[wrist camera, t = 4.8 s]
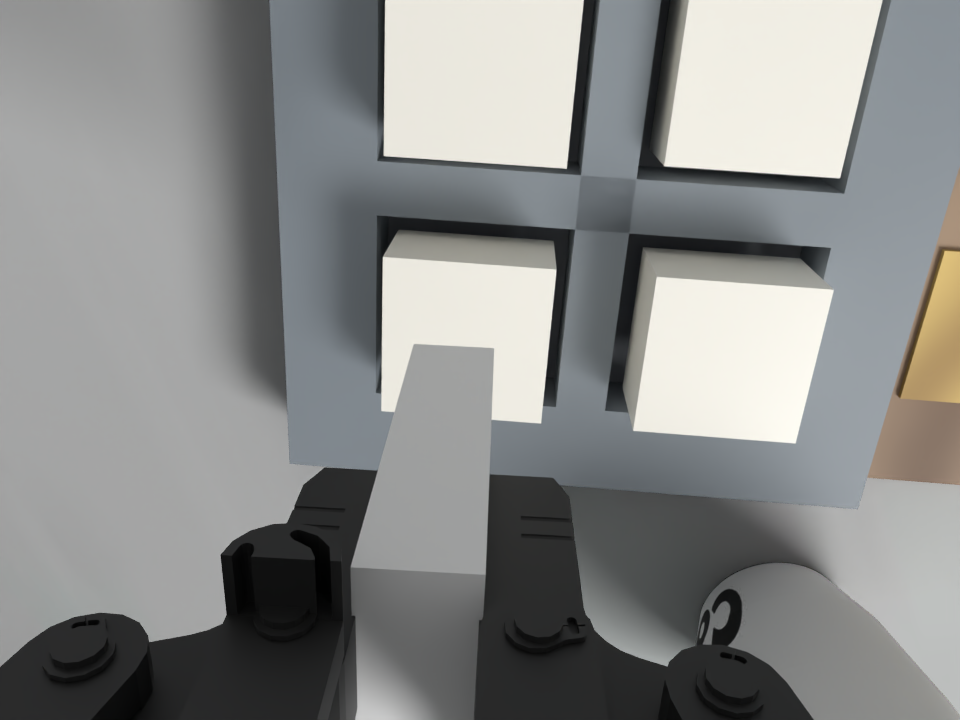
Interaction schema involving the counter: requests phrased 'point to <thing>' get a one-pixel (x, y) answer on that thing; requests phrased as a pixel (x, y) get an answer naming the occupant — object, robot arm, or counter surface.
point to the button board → (609, 247)
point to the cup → (820, 645)
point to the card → (929, 375)
